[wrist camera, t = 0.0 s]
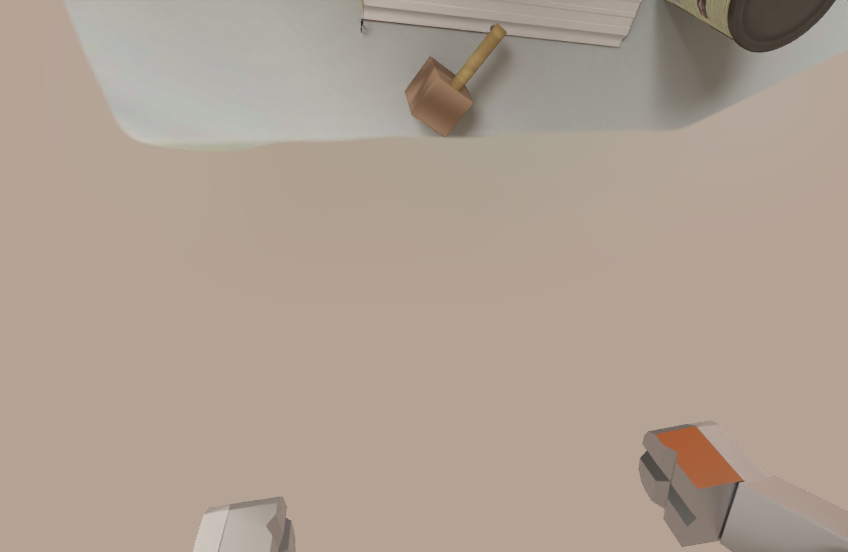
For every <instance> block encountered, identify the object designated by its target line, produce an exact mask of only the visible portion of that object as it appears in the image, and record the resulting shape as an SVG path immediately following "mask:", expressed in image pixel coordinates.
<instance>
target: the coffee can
mask: <svg viewBox="0 0 848 552" xmlns="http://www.w3.org/2000/svg"><path fill="white" fill-rule="evenodd" d="M667 1H668V2H670V3H672V4H674V5H676V6H678V7H680V8H681V9H683V10H684V11H686V12H688V13H690V14H691V15H693V16H695V17H696V18H698V19H700V20H701V21H703V22H704V23H706V24H708V25H709V26H711V27H712V28H714V29H716V30H717V31H719V32H721V33H723V34H724V35H726V36H728V37H729V38H731V39H733V40H734V41H735V42H736V43H737V44H738V45H739V46H741V47H742V48H744V49H746V50H748V51H751V52H767V51H771V50H774V49H778V48H780V47H783V46H785V45H787V44H789V43H791V42H792V41H794V40H796V39H797V38H799V37H800V36H801V35H803V34H804V33H805V32H807V31H808V30H809V29H810V28H811V27H812V26H814V25H815V24H816V23H817V22H818V21H819V20H820V19H821V18H822V17H823V16H824V14H825V13H826V12H827V11H828V10H829V8H830V7H831V6H832V5H833V3H834V2H835V0H667Z"/></svg>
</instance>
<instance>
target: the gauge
mask: <svg viewBox="0 0 848 552" xmlns="http://www.w3.org/2000/svg"><path fill="white" fill-rule="evenodd" d="M506 33H507V32H506V31H505V30H504V29H503V28H502V27H501V26H500V25H499V24H496V25H492V26H491V27H490V33H489V34H488V35H487V36H486V38H485V39H484V40H483V42H482V43H481V44H480V45H479V47H478V48H477V49H476V50H475V52H474V53H473V54H472V56H471V57H470V58H469V59H468V61H467V62H466V63H465V65H464V66H463V67H462V68H461V70H460V71H459V72H458V74H457V75H455V74H453V73H452V72H451V71H449V70H448V69H447V68H445V67H444V66H443V65H441V64H440V63H439V62H437V61H436V60H435V59H433V58H432V57H431V56H430V57H429V59H428V60H427V61H426V63H425V64H424V65H423V67H422V68H421V70H420V71H419V72H418V74H417V75H416V76H415V78H414V79H413V80H412V82H411V83H410V85H409V86H408V87H407V89H406V90H405V94H406V97H407V100H408V104H409V107H410V110H411V114H412V115H413V116H414V117H416V118H417V119H419V120H420V121H422V122H423V123H425V124H427V125H428V126H430V127H431V128H433V129H434V130H436V131H437V132H439V133H440V134H442V135H443V136H445V137H446V135H447V134H448V133H449V132H450V131H451V129H452V128H453V127H454V126H455V125H456V123H457V122H458V121H459V120H460V119H461V117H462V116H463V115H464V114H465V113H466V111H467V110H468V109H469V108H470V107H471V105H472V104H473V101H472V99H471V97H470V95H469V93H468V91H467V89H466V87H465V84H466V83H467V82H468V81H469V79H470V78H471V77H472V76H473V74H474V73H475V72H476V71H477V69H478V68H479V67H480V66H481V64H482V63H483V62H484V61H485V59H486V58H487V57H488V56H489V54H490V53H491V52H492V51H493V49H494V48H495V47H496V46H497V44H498V43H499V42H500V41H501V39H502V38H503V37H504V36H505V34H506Z"/></svg>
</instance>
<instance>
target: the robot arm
mask: <svg viewBox="0 0 848 552" xmlns="http://www.w3.org/2000/svg"><path fill="white" fill-rule="evenodd" d="M643 445H644V447H645V448H646V449H647V451H646V452H645V453H644V454H643V455H642V456H641V458H640V463H639V472H640V477H641V482H642V484H643V486H644V488H645V490H646V492H647V494H648V495H649V497H650V499H651V500H652V501H653V502H655V503H656V504H658V505H660V506H661V507H663V508H664V520H665V522H666V523H667V525H668V526H669V528H670V529H671V531H672V532H673V534H674V535H675V537H676V538H677V540H678V542H679V543H680V545H681V546H682V547H684V546H690V545H696V544H702V543H708V542H714V541H720V540H721V541H720V543H721V544H722V545H724V546H725V547H726V548H728V549H729V550H730V551H732V552H848V511H846V510H844V509H842V508H840V507H838V506H836V505H833V504H832V503H829V502H827V501H825V500H823V499H821V498H819V497H817V496H815V495H813V494H811V493H809V492H807V491H805V490H803V489H801V488H799V487H796V486H794V485H792V484H790V483H788V482H786V481H784V480H782V479H780V478H778V477H776V476H772V477H768V476H767V475H766V474H765V472H764V471H763V470H762V469H761V468H760V467H759V466H758V465H757V464H756V463H755V462H754V461H753V460H752V459H751V458H750V457H749V456H748V455H747V454H746V453H745V452H744V451H743V449H742V448H740V446H739V445H738V444H737V443H736V442H735V441H734V440H733V439H732V438H731V437H730V436H729V435H728V434H727V433H726V432H725V431H724V430H723V429H722V428H721V427H720V426H719V424H717V423H716V422H714V421H712V420H710V421H704V422H698V423H693V424H689V425H688V424H685V425H680V426H674V427H669V428H664V429H658V430H653V431H648V432H647V433H646V434H645V435H644V439H643ZM286 508H287V507H286V504H285V501H284V499H283V497H275V498H268V499H262V500H255V501H248V502H242V503H236V504H230V505H223V506H217V507H210V508H208V509H207V511H206V512H205V514H204V516H203V518H202V522H201V525H200V528H199V532H198V535H197V538H196V542H195V545H194V548H193V552H295V535H294V529H293V525H292V522H291V520H289V519H287V518H286Z"/></svg>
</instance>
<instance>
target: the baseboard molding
mask: <svg viewBox="0 0 848 552" xmlns="http://www.w3.org/2000/svg"><path fill="white" fill-rule="evenodd" d="M641 1H642V0H363V4H362V19H361V20H362V21H361V26H362V23H363V19H368V20H377V21H386V22H396V23H405V24H414V25H423V26H432V27H441V28H450V29H459V30H468V31H477V32H486V33H490V27H491V26H492V25H496V24H499V25H500V26H501V27H502V28H503V29H504V30H505V31H506V32H507V33H506V34H505V35H514V36H523V37H532V38H541V39H550V40H559V41H568V42H577V43H586V44H595V45H604V46H614V47H620V44H621V42H622V40H623V39H624V38H625V37H626V36H627V35H628V32H629V30H630V26H631V24H632V22H633V19H634V18H635V16H636V12H637V10H638V7H639V5H640V3H641ZM361 32H362V28H361Z"/></svg>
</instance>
